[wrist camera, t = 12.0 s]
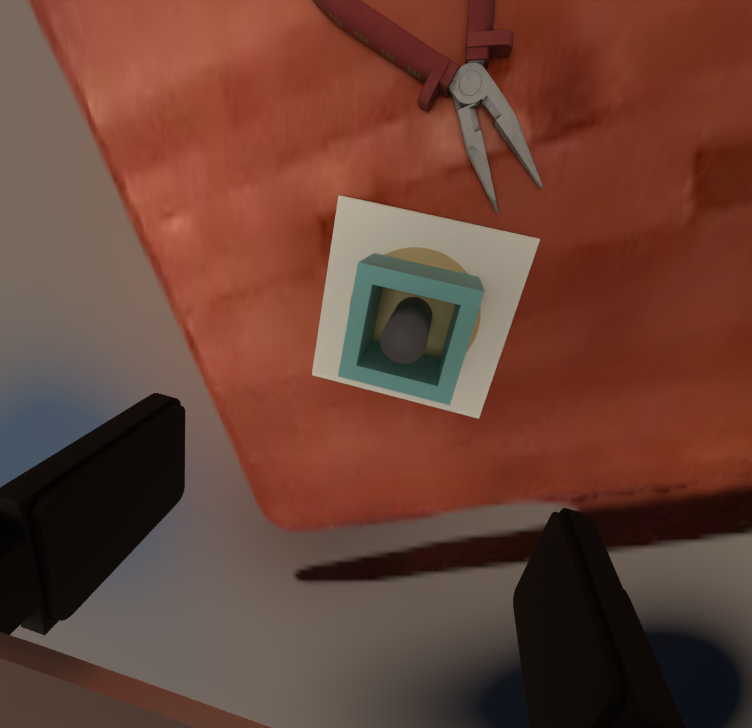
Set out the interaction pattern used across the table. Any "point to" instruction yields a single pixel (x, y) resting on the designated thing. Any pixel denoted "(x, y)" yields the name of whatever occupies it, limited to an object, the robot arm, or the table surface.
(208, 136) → the table surface
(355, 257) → the post stand
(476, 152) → the pliers
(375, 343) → the collar
